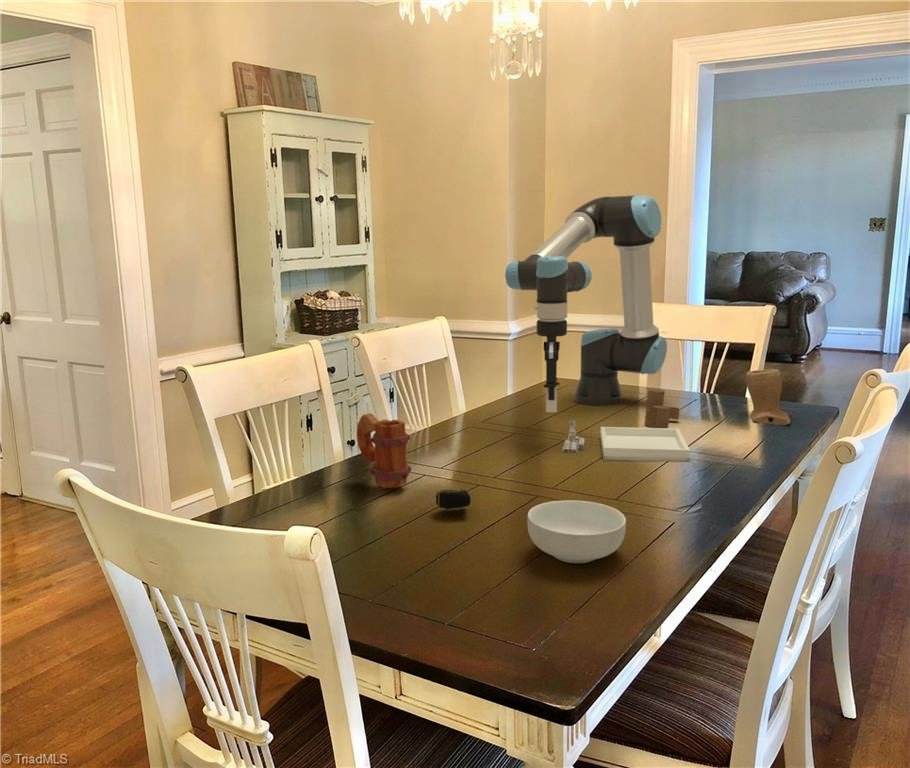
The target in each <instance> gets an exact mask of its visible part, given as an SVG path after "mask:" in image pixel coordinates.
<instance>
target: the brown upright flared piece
mask: <svg viewBox="0 0 910 768" xmlns="http://www.w3.org/2000/svg"><path fill="white" fill-rule="evenodd" d="M745 379H746V381H745V382H746V383H745V384H746V387H747V391H748V393H749V396H750V399H751V402H752V405H753V408H752V409H753V410H752V411H751V412H750V416H751V419H752V421H753V422H755V423H757V424H760V423H762V424H761V425H770V424H774V425H773V426H780V425H783V426H787V425H789V424H790V423H791V419H790V417H789V414H788V413H787V412H786V411H784V410H781V409H780V399H781V394H782V390H783V382H782V374H781V371H780V370H779V369H773V368H770V369H769V368H768V369H757V370H750V371H747V372H746V375H745Z"/></svg>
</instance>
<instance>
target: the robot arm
mask: <svg viewBox="0 0 910 768" xmlns="http://www.w3.org/2000/svg"><path fill="white" fill-rule="evenodd" d="M661 225H662V213H661V208H660V206H659V204H658V202H657V201H656V199H655V198H654V197H652V196H649V195H638V194H635V195H634V194H633V195H620V196H619V195H618V196H614V195H613V196H601V197H597V198H595V199H592V200H590V201H588V202H586V203H583V204H582V205H581V206H579V207H577V208H576V209H574V210H573V212H571V213H570V214H569V215H567V217H566V218H565V221H564V224H563V225H561V227H559V228H558V229H557V230H556V231H555V232H554V233H553V234H552V235H551V236H549V238H548V239H546V240H545V241H544V242H543V243H542V244H541V245H539V247H537V248H536V249H535V250H534V251H533V252H532V253H531V254H530V255H528V256H527V258H525V259H524V260H522V261H521V260H516V261H515V260H514V261H511V262H509V263H508V265H507V266H506V268H505V273H504V277H505V281H506V285H507V286H508V287H509V288H510V289H512V290H520V291H536V305H534V307H533V309H534V311H536V318H537V321H536V335H537V336H539V337H545V338H546V341H543V351H544V361H545V363H546V364H545V368H546V372H545V377H546V378H545V379H546V380H545V381H546V383H545V384H543V388H545V412H546V413H558V411H557V409H558V408H557V407H558V386H560V382H558V378H557V376H558V375H557V372H558V371H557V370H558V369H557V365H558V363H557V362H559V357H560V356H559V355H560V354H559V352H560V348H561V347H560V345H561V344H560V341H557V337H563V336H566V335H567V334H568V321H567V320H566V319H567V318H568V294H569V293H572V292H573V293H574V292H575V293H576V292H579V291H580V292H581V291H583V290H584V289H586V288H587V287H589V285H590V283H591V282H592V270H591V268H590V266H589V265H588V264H587V263H585V262H583V261H578V260H577V261H574V260H572V261H570V262H569V261H568V257H570V256H571V255H572V254H573V253H574V252H575V251H576V250H577V249H579V247H580V246H581V245H582V244H586V243H589V242H590V241H592V239H596V238H613V246H614V247H615V248H617V249H618V251H619V259H620V260H619V261H620V276H621V279H620V280H621V290H622V291H621V292H622V293H621V295H622V308H623V322H624V323H623V324H624V326H623V327H622V328H621V329H620V330H619V329H618V328H611V327H610V328H601V329H600V328H599V329H593V330H588V331H585V332H583V334H582V335H581V339H580V340H581V341H580V343H581V344H580V378H579V381H578V384H577V386H576V389H575V392H574V401H575V402H576V403H579V404H581V405H586V406H599V407H601V406H602V407H604V406H614V405H618V404H621V403H622V402H623V393H622V389H621V384H620V382H619V379H618V372H624V373H632V374H634V373H635V374H641V375H644V374H645V375H647V374H648V375H655V374H657V373H658V372H659V371H660V370H661V368H662V367H663V364H664V362H665V359H666V357H667V350H668V343H667V339H666V338H665V337H663V336H660V331H659V330H660V329H659V327H658V326H656V325H655V324H654V309H653V307H654V306H653V294H652V293H653V291H652V288H653V287H652V273H651V272H652V270H651V269H652V268H651V267H652V266H651V255H650V252H651V251H650V250H651V249H650V248H651V247H652V245H653V244H654V243H655V238H656V237H658V236H659V235H660V232H661V229H662V228H661Z"/></svg>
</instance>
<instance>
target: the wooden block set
mask: <svg viewBox="0 0 910 768" xmlns="http://www.w3.org/2000/svg"><path fill="white" fill-rule="evenodd" d="M665 392H666V391H665V390H664V389H661V388H652V387H651V388H649V389H648V393H647V401H646V409H645V416H644V417H645V418H644V425H645V426H647V427H649V428H669V423H670V420H675V421H676V420H677V421H679V417H680V407H674V406H665V405H664V400H665Z"/></svg>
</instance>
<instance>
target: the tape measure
mask: <svg viewBox="0 0 910 768" xmlns="http://www.w3.org/2000/svg"><path fill="white" fill-rule="evenodd" d="M471 501H472V500H471V496H470V493H468V491H467V490H465V489H442V490H438V491H437V492H436V495H435V503H436V505H437V507H438V508H439V509H444V510H445V511H451V510H454V509H461V510H462V509H463V508H465V507H468V506H470V504H471Z"/></svg>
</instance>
